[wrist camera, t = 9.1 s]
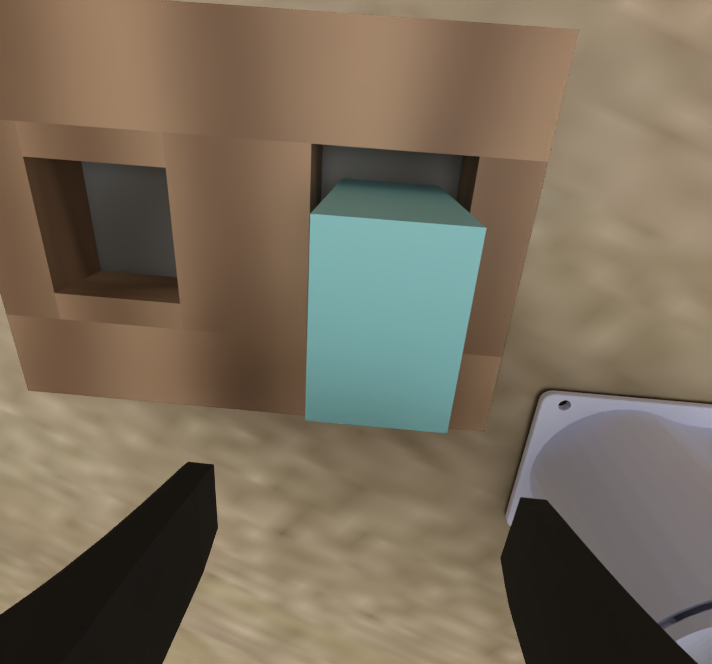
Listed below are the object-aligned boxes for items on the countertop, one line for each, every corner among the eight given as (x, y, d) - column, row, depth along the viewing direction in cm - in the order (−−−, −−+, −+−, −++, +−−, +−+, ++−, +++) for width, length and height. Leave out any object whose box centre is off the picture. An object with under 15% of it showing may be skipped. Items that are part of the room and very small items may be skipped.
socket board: (541, 49, 14) (579, 29, 11) (470, 390, 20) (484, 431, 17) (0, 11, 15) (-88, -18, 12) (76, 355, 20) (28, 390, 17)
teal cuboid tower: (438, 185, 16) (486, 228, 9) (420, 312, 18) (447, 433, 11) (342, 178, 16) (310, 213, 9) (336, 305, 18) (305, 420, 11)
